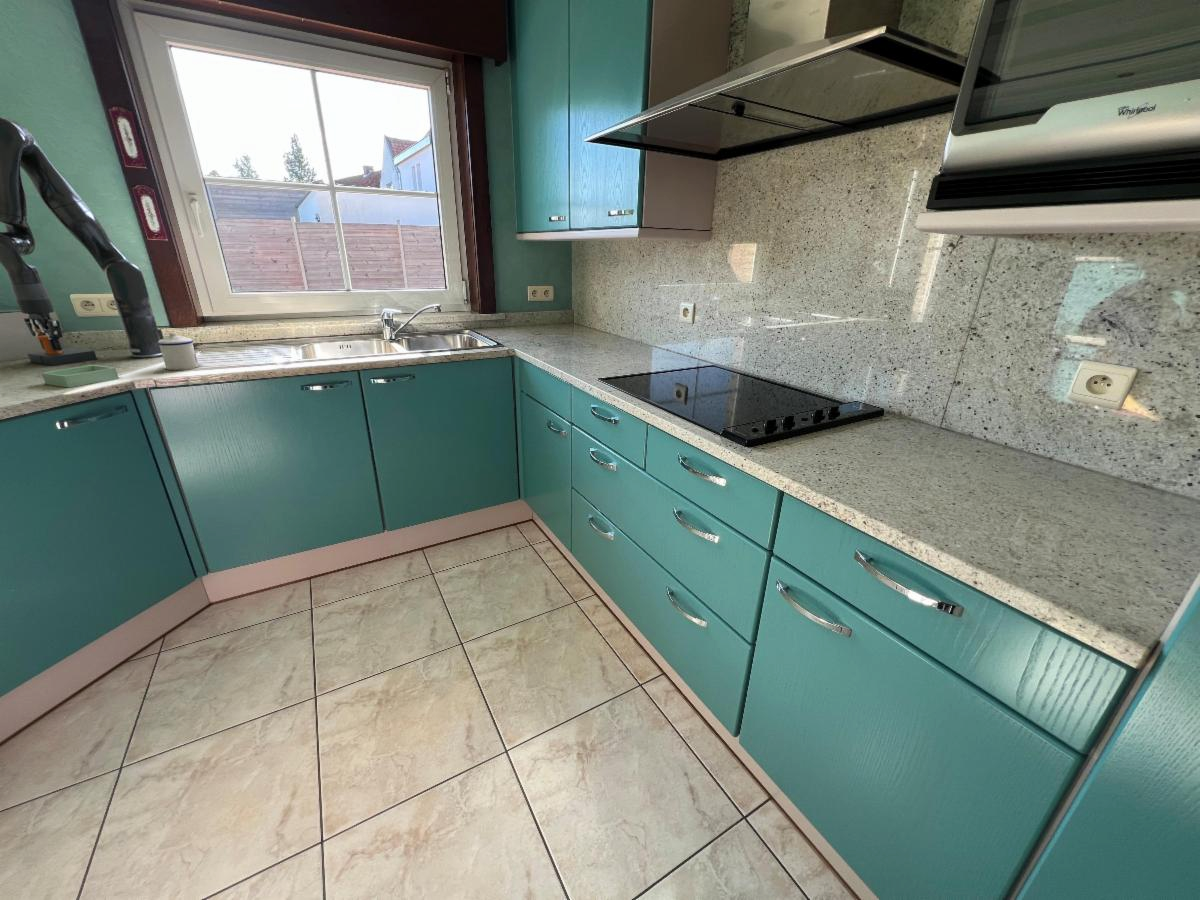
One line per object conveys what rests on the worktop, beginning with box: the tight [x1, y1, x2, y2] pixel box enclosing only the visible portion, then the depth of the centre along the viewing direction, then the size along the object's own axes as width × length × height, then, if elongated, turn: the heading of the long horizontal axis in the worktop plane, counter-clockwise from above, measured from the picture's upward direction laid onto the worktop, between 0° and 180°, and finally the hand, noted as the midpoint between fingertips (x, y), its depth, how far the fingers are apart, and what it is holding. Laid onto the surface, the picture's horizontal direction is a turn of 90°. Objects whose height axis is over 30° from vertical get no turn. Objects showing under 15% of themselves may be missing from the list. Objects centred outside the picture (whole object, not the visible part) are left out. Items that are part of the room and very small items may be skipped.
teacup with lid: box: [158, 331, 200, 371], centre depth 164 cm, size 12×9×12 cm
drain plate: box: [27, 347, 98, 366], centre depth 170 cm, size 12×12×3 cm
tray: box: [41, 364, 119, 388], centre depth 146 cm, size 12×10×3 cm
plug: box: [36, 335, 62, 354], centre depth 167 cm, size 5×5×9 cm
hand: (52, 349), depth 167 cm, fingers closed on plug, 4 cm apart
